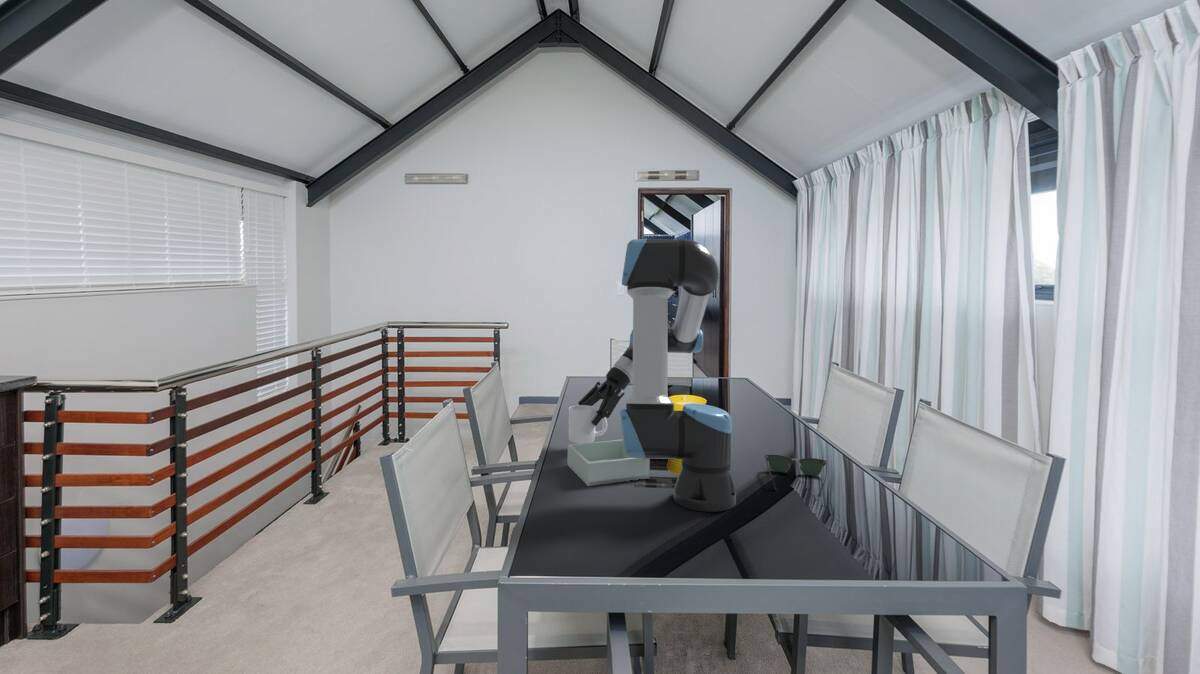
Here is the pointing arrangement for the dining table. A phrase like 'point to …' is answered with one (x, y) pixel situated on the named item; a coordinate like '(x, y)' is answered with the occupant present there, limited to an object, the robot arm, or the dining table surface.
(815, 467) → the sunglasses
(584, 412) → the mug
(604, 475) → the bin
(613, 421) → the dining table surface
